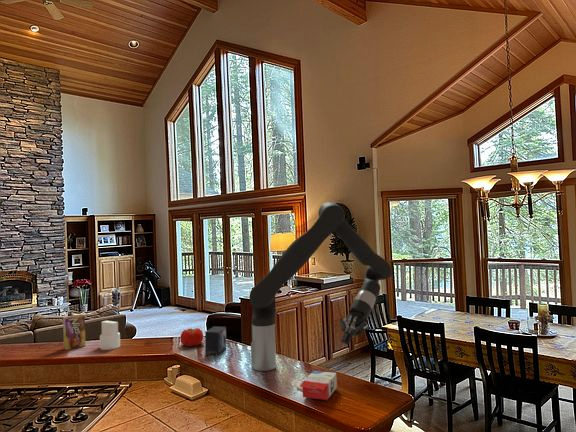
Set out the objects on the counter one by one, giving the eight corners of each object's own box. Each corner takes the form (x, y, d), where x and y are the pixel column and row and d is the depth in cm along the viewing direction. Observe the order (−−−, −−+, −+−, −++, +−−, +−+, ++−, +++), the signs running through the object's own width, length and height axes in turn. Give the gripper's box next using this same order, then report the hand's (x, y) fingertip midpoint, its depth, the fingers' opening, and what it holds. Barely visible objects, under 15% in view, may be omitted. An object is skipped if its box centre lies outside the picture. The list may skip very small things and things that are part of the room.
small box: (218, 356, 185) (218, 332, 185) (204, 355, 186) (204, 331, 186) (227, 349, 195) (226, 326, 195) (213, 348, 196) (213, 325, 197)
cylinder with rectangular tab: (95, 348, 203) (95, 323, 203) (112, 343, 210) (112, 319, 211) (107, 350, 198) (107, 324, 198) (124, 345, 206) (123, 320, 206)
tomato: (204, 341, 209) (204, 326, 209) (201, 347, 198) (201, 331, 198) (182, 342, 209) (182, 327, 209) (178, 348, 198) (177, 332, 198)
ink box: (313, 384, 147) (298, 401, 133) (313, 370, 147) (298, 385, 133) (337, 387, 144) (324, 404, 130) (337, 372, 144) (324, 388, 130)
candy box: (83, 344, 210) (82, 313, 210) (85, 346, 207) (85, 314, 207) (63, 348, 204) (62, 316, 204) (65, 350, 201) (65, 317, 201)
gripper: (345, 297, 167) (325, 334, 159) (372, 300, 158) (353, 340, 149) (353, 308, 171) (335, 345, 162) (381, 312, 161) (363, 352, 153)
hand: (344, 343), depth 156 cm, fingers closed
